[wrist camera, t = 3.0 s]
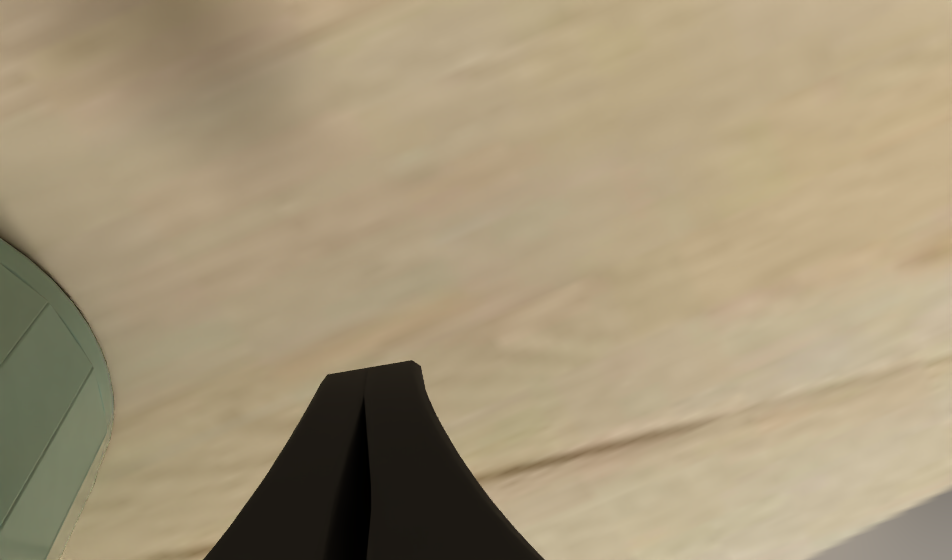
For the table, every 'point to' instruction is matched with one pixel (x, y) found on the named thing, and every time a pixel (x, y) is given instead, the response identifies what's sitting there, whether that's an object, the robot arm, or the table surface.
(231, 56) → the table surface
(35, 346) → the waste bin
